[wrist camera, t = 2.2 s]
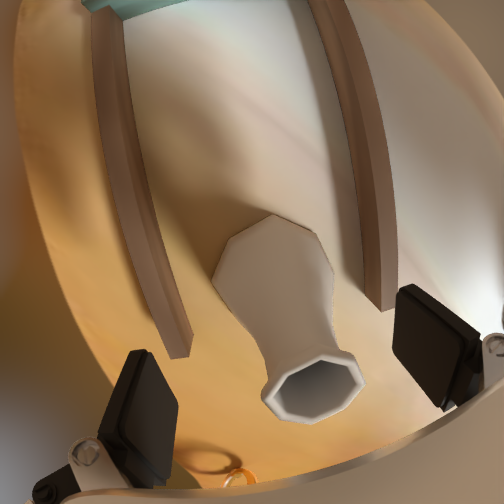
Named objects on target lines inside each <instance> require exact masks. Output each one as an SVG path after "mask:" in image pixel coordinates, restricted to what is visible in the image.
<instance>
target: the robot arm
mask: <svg viewBox="0 0 504 504" xmlns="http://www.w3.org/2000/svg"><path fill="white" fill-rule="evenodd" d="M480 335H481V334H480V333H479V332H478V331H476V330H475V329H474V328H473V327H471V326H470V325H469V324H468V323H466V322H465V321H464V320H462V319H461V318H460V317H459V316H457V315H456V314H455V313H453V312H452V311H451V310H449V309H448V308H447V307H445V306H444V305H443V304H441V303H440V302H439V301H437V300H436V299H435V298H433V297H432V296H430V295H429V294H428V293H426V292H425V291H423V290H422V289H421V288H419V287H418V286H416V285H415V284H409V285H407V286H404V287H401V288H400V289H399V292H398V293H397V294H396V301H395V319H394V333H393V343H392V350H393V353H394V355H395V356H396V357H397V359H398V360H399V361H400V362H401V363H402V365H403V366H404V367H405V368H406V370H407V371H408V372H409V373H410V375H411V376H412V377H413V378H414V380H415V381H416V382H417V383H418V385H419V386H420V387H421V388H422V390H423V391H424V392H425V394H426V395H427V396H428V397H429V399H430V400H431V401H432V403H433V404H434V405H435V406H436V407H437V408H439V407H440V408H441V409H442V411H443V412H446V411H447V410H449V409H451V408H452V407H454V406H455V405H456V406H457V407H458V408H456V409H455V410H453V411H451V412H450V413H448V414H446V415H445V416H443V417H441V418H440V419H438V420H436V421H435V422H433V423H431V424H429V425H427V426H426V427H424V428H422V429H420V430H418V431H416V432H414V433H412V434H410V435H408V436H406V437H404V438H402V439H400V440H398V441H396V442H394V443H391V444H389V445H387V446H385V447H382V448H380V449H378V450H375V451H373V452H370V453H368V454H365V455H363V456H360V457H357V458H354V459H352V460H349V461H346V462H343V463H340V464H337V465H334V466H330V467H327V468H324V469H320V470H317V471H313V472H309V473H305V474H301V475H297V476H293V477H288V478H284V479H279V480H274V481H268V482H262V483H256V484H249V485H242V486H233V487H223V488H209V489H185V490H184V489H183V490H182V489H180V490H168V489H167V490H165V489H153V485H156V486H166V479H169V478H170V476H171V467H172V457H173V448H174V440H175V431H176V423H177V416H178V402H177V399H176V398H175V396H174V394H173V392H172V391H171V389H170V387H169V385H168V383H167V381H166V379H165V378H164V376H163V374H162V372H161V370H160V368H159V366H158V364H157V362H156V360H155V358H154V356H153V354H152V353H151V352H148V351H147V350H146V349H140V350H133V351H130V353H129V355H128V357H127V359H126V362H125V364H124V366H123V369H122V371H121V373H120V376H119V378H118V381H117V383H116V386H115V388H114V391H113V393H112V395H111V398H110V401H109V403H108V406H107V408H106V411H105V414H104V416H103V419H102V422H101V424H100V427H99V430H98V433H99V434H98V437H97V439H96V438H94V437H85V438H82V439H79V440H78V441H76V442H75V443H74V444H73V445H72V446H71V448H70V450H69V454H68V459H69V464H67V465H66V466H64V467H62V468H61V469H59V470H57V471H56V472H54V473H52V474H50V475H48V476H47V477H45V478H43V479H41V480H40V481H38V482H37V483H36V485H35V486H34V488H33V491H32V497H33V501H31V500H30V499H29V500H28V501H27V502H26V503H25V504H504V334H502V333H492V334H489V335H487V336H486V337H485V338H484V339H483V341H481V340H480V339H479V338H480Z"/></svg>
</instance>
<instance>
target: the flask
mask: <svg viewBox="0 0 504 504" xmlns="http://www.w3.org/2000/svg"><path fill="white" fill-rule="evenodd" d="M211 283H212V284H213V286H214V287H215V289H216V290H217V292H218V293H219V295H220V296H221V298H222V299H223V301H224V302H225V303H226V305H227V306H228V308H229V309H230V311H231V312H232V314H233V315H234V317H235V318H236V319H237V320H238V322H239V323H240V324H241V325H242V326H243V327H244V328H245V329H246V330H247V331H248V332H249V333H250V334H251V335H252V337H253V338H254V339H255V341H256V343H257V345H258V347H259V349H260V351H261V353H262V355H263V357H264V360H265V365H266V370H267V375H268V381H267V383H266V384H265V386H264V387H263V389H262V391H261V399H262V401H263V402H264V403H265V405H266V406H267V407H268V408H269V409H270V410H271V411H272V412H273V413H274V414H275V415H276V416H277V418H278V419H279V420H283V421H289V422H296V423H303V424H311V425H312V424H314V423H316V422H319V421H321V420H323V419H325V418H327V417H329V416H332V415H334V414H336V413H338V412H340V411H342V410H344V409H345V408H346V407H347V406H348V405H349V404H350V403H351V401H352V400H353V399H354V398H355V397H356V396H357V394H358V393H359V392H360V391H361V389H362V388H363V387H364V386H365V385H366V382H365V379H364V377H363V375H362V372H361V370H360V368H359V365H358V363H357V361H356V359H355V357H354V355H352V354H351V353H349V352H346V351H342V350H340V349H339V347H338V343H337V339H336V335H335V331H334V328H333V290H334V271H333V269H332V267H331V264H330V262H329V260H328V258H327V256H326V254H325V252H324V250H323V247H322V245H321V243H320V241H319V239H318V237H317V235H316V234H315V233H313V232H311V231H309V230H307V229H304V228H302V227H300V226H298V225H296V224H293V223H291V222H289V221H287V220H285V219H282V218H280V217H278V216H276V215H273V214H272V215H270V216H268V217H267V218H265V219H263V220H261V221H259V222H258V223H256V224H254V225H252V226H251V227H249V228H247V229H245V230H243V231H242V232H240V233H238V234H236V235H235V236H233V237H231V238H229V239H228V242H227V244H226V246H225V249H224V251H223V253H222V256H221V258H220V260H219V263H218V265H217V268H216V270H215V272H214V275H213V277H212V279H211Z"/></svg>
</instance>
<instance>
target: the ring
mask: <svg viewBox="0 0 504 504" xmlns="http://www.w3.org/2000/svg"><path fill="white" fill-rule="evenodd" d="M242 474H244V475H245V476H246V478H247V485H249V484H256V483H259V480H258V478H257V476H256V475H255V474H254V473H253V472H252V471H249V470H247V469H243V468H239V469H232V470H231V472H230V473H229V474H228V475H227V476H226V477H225V479H224V480H223V482H222V484H221V486H220V488H223V487H230V485H231V483H232V482H233V480H234V479H235V478H240V477H241V475H242Z"/></svg>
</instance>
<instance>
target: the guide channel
mask: <svg viewBox="0 0 504 504" xmlns="http://www.w3.org/2000/svg"><path fill="white" fill-rule="evenodd" d="M183 1H188V0H81V3H82V4H83V5H84V6H85V7H86V8H87V9H88V10H89V11H90V12H91V42H92V64H93V77H94V88H95V98H96V106H97V114H98V121H99V127H100V133H101V139H102V145H103V150H104V156H105V161H106V166H107V170H108V175H109V180H110V184H111V188H112V192H113V197H114V201H115V204H116V208H117V212H118V216H119V220H120V223H121V227H122V230H123V234H124V237H125V240H126V244H127V247H128V250H129V253H130V256H131V259H132V262H133V265H134V268H135V271H136V274H137V277H138V280H139V283H140V286H141V288H142V291H143V294H144V297H145V299H146V302H147V304H148V307H149V310H150V312H151V315H152V317H153V320H154V322H155V324H156V327H157V329H158V332H159V334H160V336H161V339H162V341H163V343H164V346H165V348H166V350H167V352H168V354H169V357H170V359H178V358H186V357H189V355H190V350H191V345H192V340H193V335H194V334H193V331H192V329H191V326H190V323H189V320H188V318H187V315H186V312H185V309H184V306H183V303H182V300H181V298H180V295H179V292H178V289H177V286H176V282H175V279H174V276H173V273H172V270H171V267H170V263H169V260H168V257H167V253H166V250H165V247H164V243H163V240H162V236H161V233H160V229H159V225H158V222H157V218H156V214H155V210H154V207H153V203H152V199H151V195H150V191H149V186H148V182H147V178H146V173H145V169H144V165H143V160H142V155H141V150H140V145H139V140H138V135H137V130H136V124H135V119H134V113H133V107H132V101H131V94H130V87H129V80H128V72H127V64H126V55H125V45H124V33H123V21H124V20H127V19H129V18H132V17H135V16H137V15H140V14H143V13H146V12H149V11H152V10H155V9H158V8H161V7H165V6H168V5H172V4H176V3H179V2H183ZM307 1H308V3H309V6H310V8H311V11H312V13H313V16H314V19H315V22H316V24H317V27H318V30H319V33H320V36H321V39H322V42H323V45H324V48H325V51H326V54H327V57H328V61H329V64H330V68H331V71H332V75H333V78H334V82H335V86H336V89H337V93H338V97H339V101H340V105H341V110H342V114H343V119H344V123H345V128H346V133H347V138H348V143H349V148H350V153H351V159H352V165H353V171H354V177H355V184H356V191H357V198H358V206H359V215H360V224H361V234H362V246H363V260H364V278H365V296H366V297H367V298H368V299H369V300H370V301H371V302H372V303H373V304H374V305H375V306H376V307H377V308H378V309H379V310H380V312H384V311H387V310H390V309H393V308H395V301H396V294H397V293H398V245H397V225H396V211H395V200H394V190H393V181H392V174H391V166H390V160H389V153H388V147H387V142H386V136H385V131H384V126H383V121H382V116H381V112H380V108H379V103H378V99H377V95H376V91H375V88H374V84H373V80H372V77H371V73H370V70H369V66H368V63H367V60H366V57H365V54H364V51H363V48H362V45H361V42H360V39H359V36H358V34H357V31H356V28H355V26H354V23H353V21H352V18H351V16H350V13H349V11H348V9H347V6H346V4H345V2H344V0H307Z"/></svg>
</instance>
